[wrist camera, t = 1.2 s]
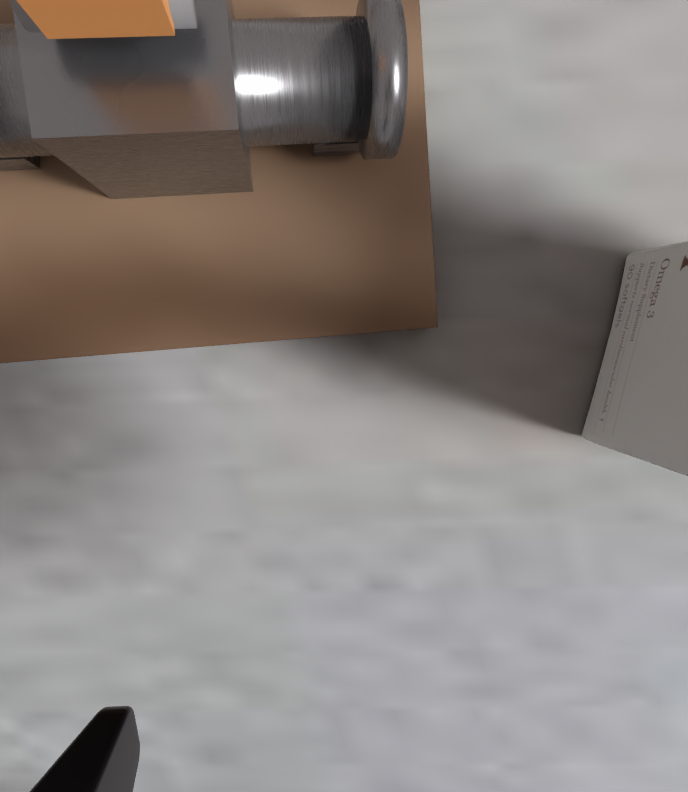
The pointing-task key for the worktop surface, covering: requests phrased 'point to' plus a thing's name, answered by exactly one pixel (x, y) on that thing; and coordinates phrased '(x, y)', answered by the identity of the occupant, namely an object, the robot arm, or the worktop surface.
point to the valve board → (224, 244)
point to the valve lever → (105, 17)
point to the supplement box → (647, 363)
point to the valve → (203, 97)
